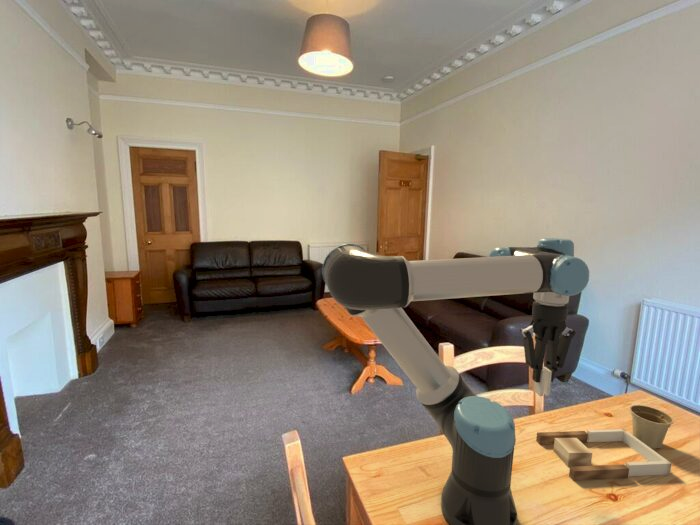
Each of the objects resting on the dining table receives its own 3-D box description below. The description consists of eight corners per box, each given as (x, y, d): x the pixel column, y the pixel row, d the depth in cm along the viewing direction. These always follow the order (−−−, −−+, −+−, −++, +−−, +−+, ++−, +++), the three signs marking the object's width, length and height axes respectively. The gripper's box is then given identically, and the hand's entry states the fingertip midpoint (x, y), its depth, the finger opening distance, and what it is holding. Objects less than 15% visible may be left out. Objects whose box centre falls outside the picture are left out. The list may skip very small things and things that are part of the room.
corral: (628, 476, 87) (629, 465, 87) (586, 439, 101) (587, 430, 101) (669, 474, 88) (671, 463, 88) (622, 438, 102) (624, 428, 102)
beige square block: (567, 467, 91) (569, 453, 90) (553, 451, 96) (554, 438, 96) (590, 467, 91) (592, 452, 90) (575, 451, 97) (576, 437, 96)
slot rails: (573, 480, 86) (574, 471, 85) (536, 440, 101) (537, 432, 100) (627, 478, 87) (629, 468, 87) (583, 438, 102) (584, 430, 101)
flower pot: (677, 456, 95) (682, 426, 94) (637, 450, 97) (641, 421, 96) (655, 434, 104) (659, 407, 103) (619, 430, 106) (622, 403, 105)
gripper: (531, 306, 82) (523, 402, 86) (589, 306, 84) (578, 400, 87) (514, 298, 90) (507, 386, 93) (567, 298, 91) (558, 385, 94)
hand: (541, 393), depth 90 cm, fingers closed
